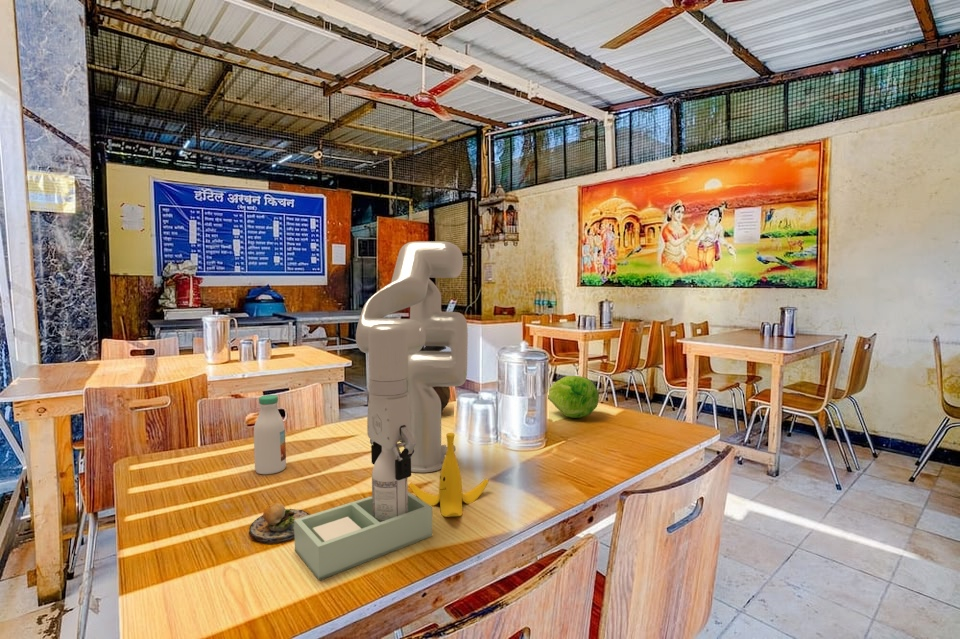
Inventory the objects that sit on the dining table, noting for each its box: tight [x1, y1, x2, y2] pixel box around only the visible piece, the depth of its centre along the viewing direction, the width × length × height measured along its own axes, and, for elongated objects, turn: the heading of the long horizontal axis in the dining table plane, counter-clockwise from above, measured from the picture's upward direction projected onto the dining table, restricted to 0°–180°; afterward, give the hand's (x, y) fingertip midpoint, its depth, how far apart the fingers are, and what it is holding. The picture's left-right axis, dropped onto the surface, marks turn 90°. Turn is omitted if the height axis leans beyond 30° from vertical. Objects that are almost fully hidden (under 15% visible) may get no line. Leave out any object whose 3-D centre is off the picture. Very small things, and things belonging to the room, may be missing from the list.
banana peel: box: [408, 432, 489, 518], centre depth 112 cm, size 17×19×17 cm
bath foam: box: [371, 446, 409, 522], centre depth 97 cm, size 7×7×20 cm
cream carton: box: [312, 517, 361, 542], centre depth 91 cm, size 7×7×4 cm
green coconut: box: [547, 375, 600, 419], centre depth 182 cm, size 17×20×16 cm
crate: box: [294, 491, 433, 582], centre depth 94 cm, size 23×12×6 cm, turn 129°
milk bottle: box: [253, 394, 287, 475], centre depth 130 cm, size 8×8×20 cm
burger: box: [248, 500, 311, 545], centre depth 99 cm, size 12×12×8 cm
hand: (390, 469), depth 98 cm, fingers open, 9 cm apart
